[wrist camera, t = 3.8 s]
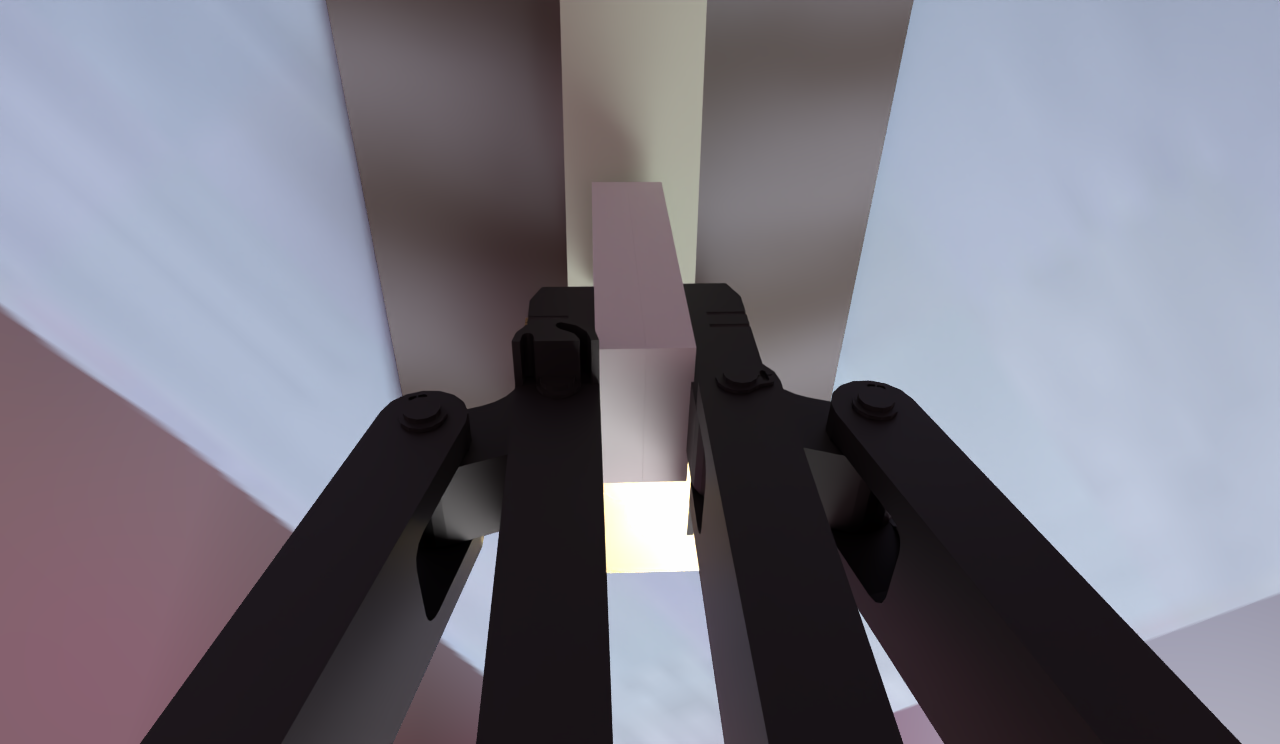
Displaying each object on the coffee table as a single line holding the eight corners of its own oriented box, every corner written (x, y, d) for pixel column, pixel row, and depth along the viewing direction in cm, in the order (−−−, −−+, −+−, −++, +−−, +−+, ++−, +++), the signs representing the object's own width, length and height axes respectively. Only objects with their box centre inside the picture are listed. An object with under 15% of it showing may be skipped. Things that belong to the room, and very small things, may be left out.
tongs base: (139, -1025, 12) (-94, -1441, 8) (1096, -948, 13) (1335, -1287, 9) (415, 435, 30) (387, 544, 25) (818, 428, 30) (855, 532, 26)
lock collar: (525, 317, 26) (510, 449, 21) (716, 316, 26) (747, 444, 21) (534, 435, 29) (522, 575, 24) (706, 432, 29) (730, 569, 24)
